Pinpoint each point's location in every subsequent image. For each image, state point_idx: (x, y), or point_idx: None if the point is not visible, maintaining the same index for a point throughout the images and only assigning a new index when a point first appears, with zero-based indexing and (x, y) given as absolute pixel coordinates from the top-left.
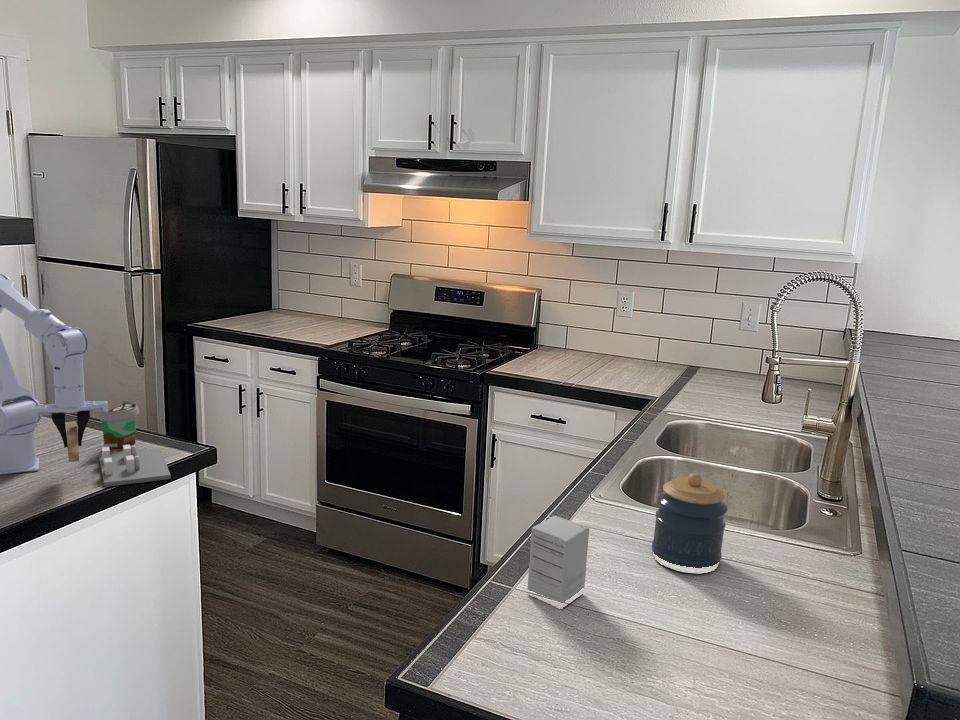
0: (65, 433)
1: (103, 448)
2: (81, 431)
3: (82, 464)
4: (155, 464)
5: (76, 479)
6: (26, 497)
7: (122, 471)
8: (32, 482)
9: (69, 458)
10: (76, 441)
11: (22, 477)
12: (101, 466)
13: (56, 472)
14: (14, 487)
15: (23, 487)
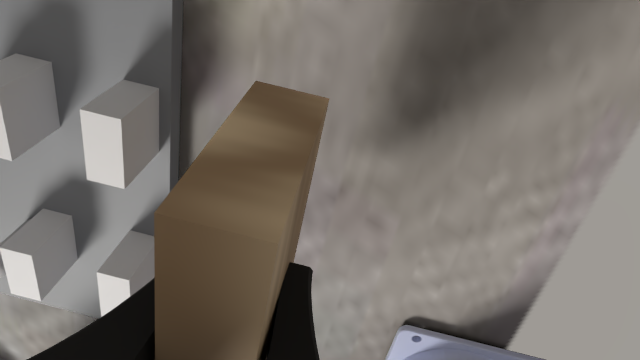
0: (273, 352)
1: None
2: (127, 319)
3: None
4: None
5: None
6: (583, 47)
7: (76, 94)
8: (468, 226)
9: (317, 110)
10: (207, 168)
11: (478, 296)
12: None
13: (346, 275)
14: (558, 213)
15: (527, 192)
